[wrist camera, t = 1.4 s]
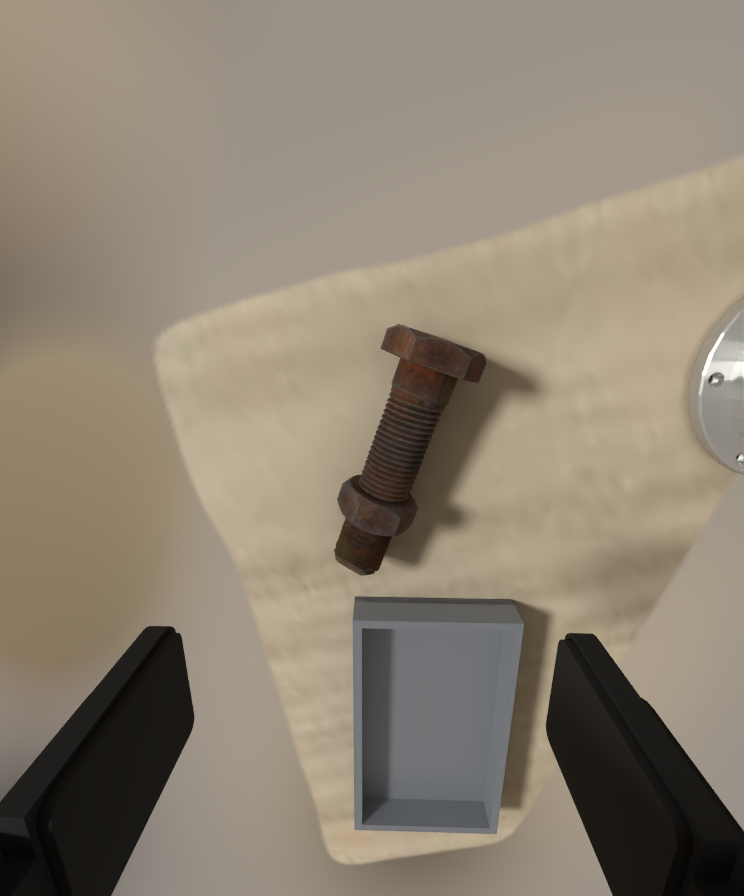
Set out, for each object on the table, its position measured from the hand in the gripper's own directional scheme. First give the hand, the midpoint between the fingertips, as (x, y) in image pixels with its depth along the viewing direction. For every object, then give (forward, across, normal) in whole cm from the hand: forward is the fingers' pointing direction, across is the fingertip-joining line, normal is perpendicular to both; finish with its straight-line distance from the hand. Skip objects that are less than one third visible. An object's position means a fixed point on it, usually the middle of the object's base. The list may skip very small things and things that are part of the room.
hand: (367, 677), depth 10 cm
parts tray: (+17, -4, +20) cm, 26 cm away
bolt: (+17, -1, -1) cm, 17 cm away
